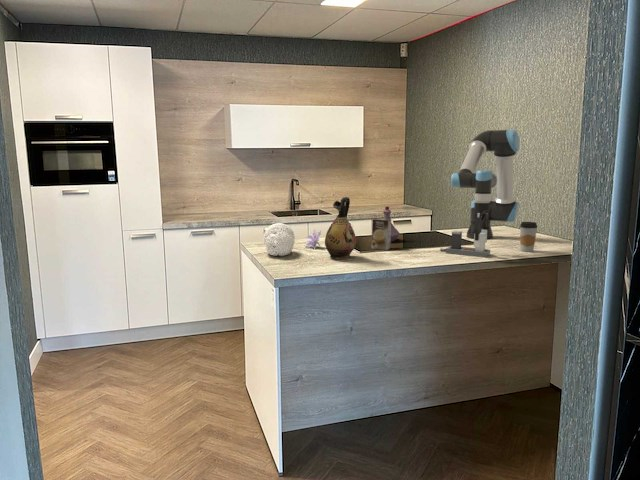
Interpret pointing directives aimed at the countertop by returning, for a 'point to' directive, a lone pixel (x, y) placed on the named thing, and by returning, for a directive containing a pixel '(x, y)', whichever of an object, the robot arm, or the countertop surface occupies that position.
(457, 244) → the twin plug
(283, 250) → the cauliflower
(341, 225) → the ceramic jug
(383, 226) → the coffee box
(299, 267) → the countertop surface
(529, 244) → the coffee cup
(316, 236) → the water lily
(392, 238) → the flask
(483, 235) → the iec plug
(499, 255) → the countertop surface
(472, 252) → the pdu strip
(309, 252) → the countertop surface
